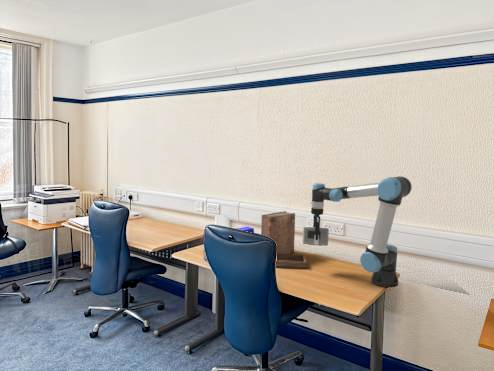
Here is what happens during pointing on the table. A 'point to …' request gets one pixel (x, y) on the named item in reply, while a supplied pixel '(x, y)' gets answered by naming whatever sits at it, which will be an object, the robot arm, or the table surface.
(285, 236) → the book
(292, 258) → the brown rectangular tray
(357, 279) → the table surface
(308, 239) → the digital clock
